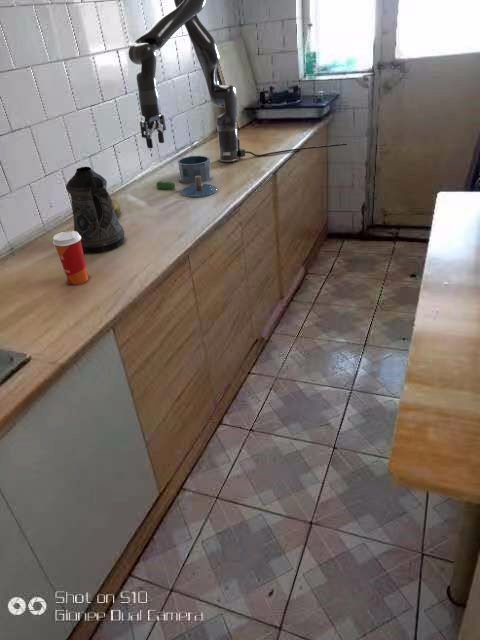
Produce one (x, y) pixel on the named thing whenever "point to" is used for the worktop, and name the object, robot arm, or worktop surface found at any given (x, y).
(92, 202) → the beer stein
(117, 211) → the potato
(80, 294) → the worktop surface
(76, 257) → the paper cup
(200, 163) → the pot
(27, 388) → the worktop surface
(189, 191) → the lid
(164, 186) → the cucumber
